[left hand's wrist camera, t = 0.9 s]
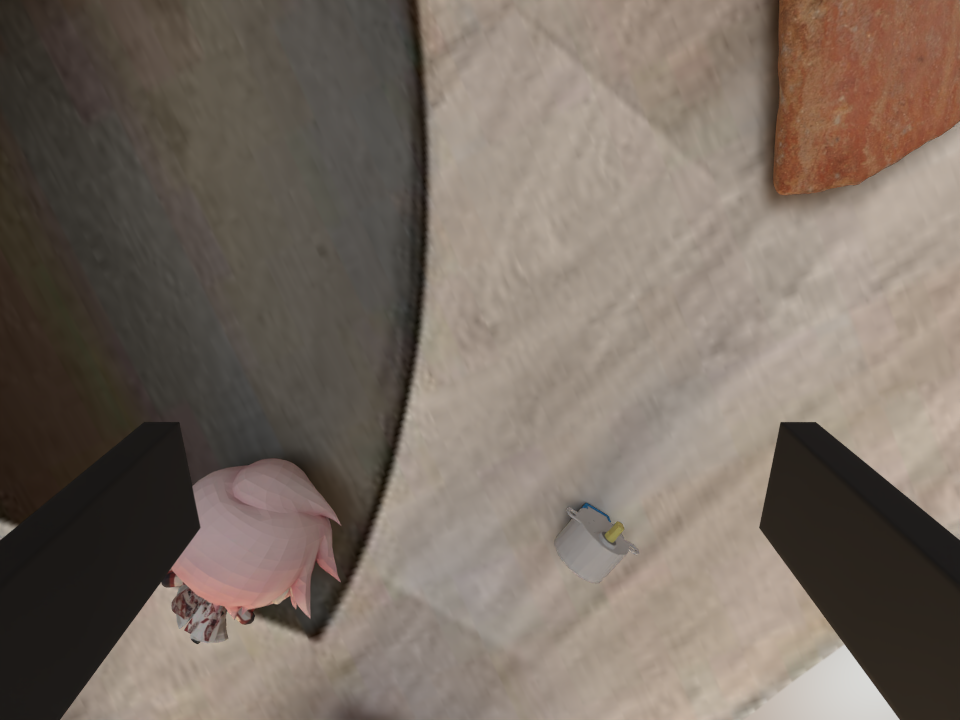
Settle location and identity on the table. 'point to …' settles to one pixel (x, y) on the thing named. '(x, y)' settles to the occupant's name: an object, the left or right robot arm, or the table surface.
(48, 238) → the table surface
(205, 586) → the toy
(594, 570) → the electric motor
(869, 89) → the ceramic shard
